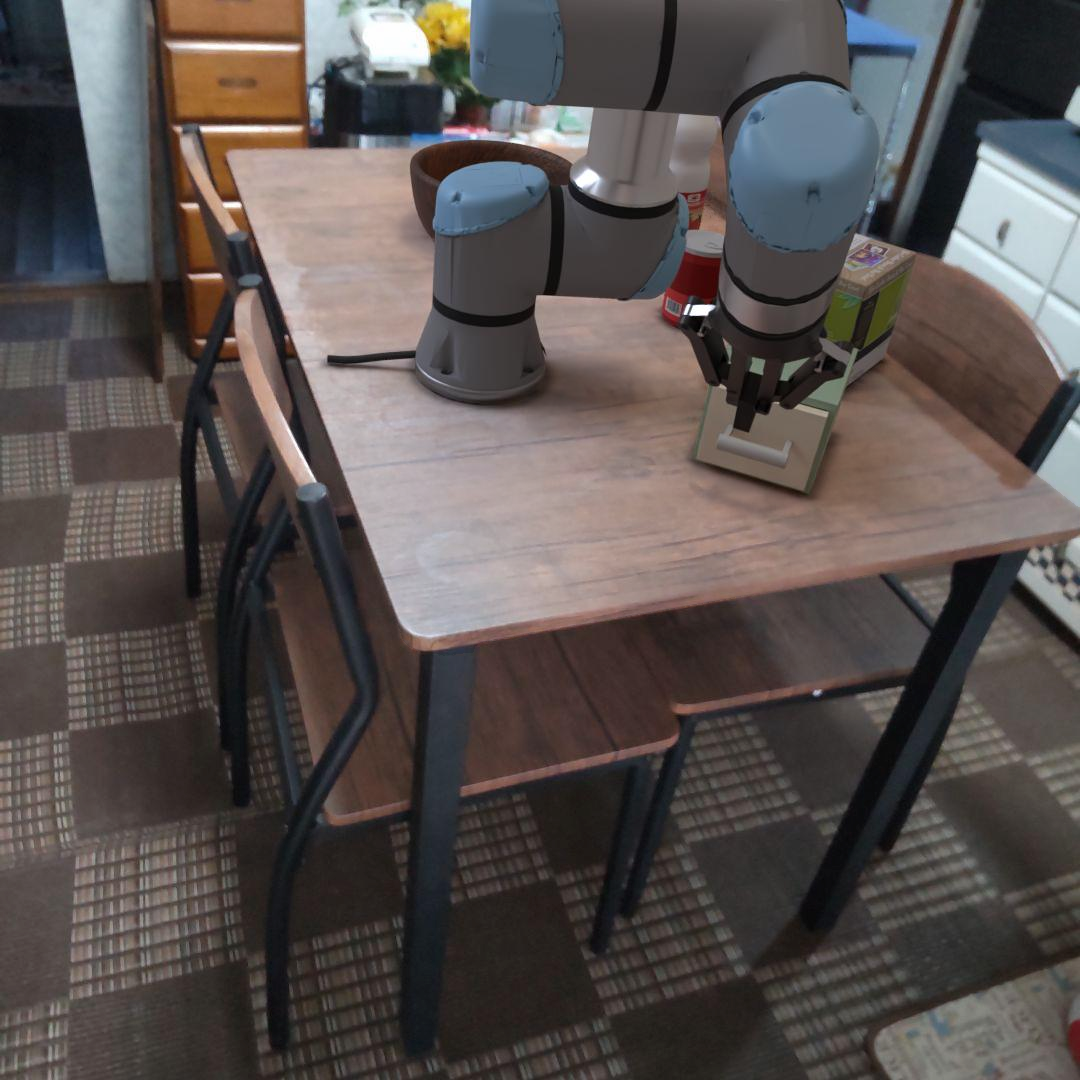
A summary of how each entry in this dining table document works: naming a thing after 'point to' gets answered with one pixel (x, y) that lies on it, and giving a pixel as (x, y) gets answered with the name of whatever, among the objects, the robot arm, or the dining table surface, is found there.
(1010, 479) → the dining table surface
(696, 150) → the fruit juice
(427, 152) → the wooden bowl
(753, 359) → the mini drawer cabinet
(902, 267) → the tea box
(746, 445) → the cabinet drawer
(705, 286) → the canned food
